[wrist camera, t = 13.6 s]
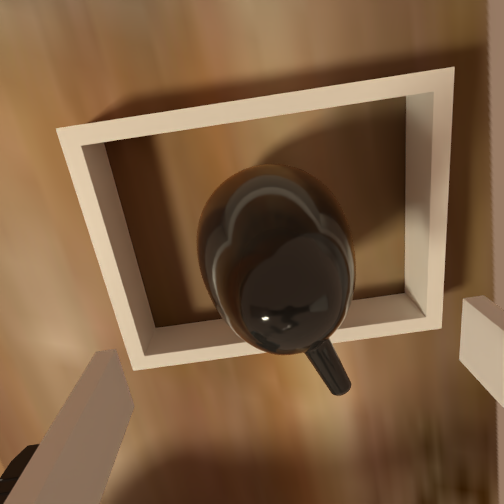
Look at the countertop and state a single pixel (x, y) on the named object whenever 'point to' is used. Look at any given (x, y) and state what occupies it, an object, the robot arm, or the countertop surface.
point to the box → (410, 85)
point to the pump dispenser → (280, 264)
